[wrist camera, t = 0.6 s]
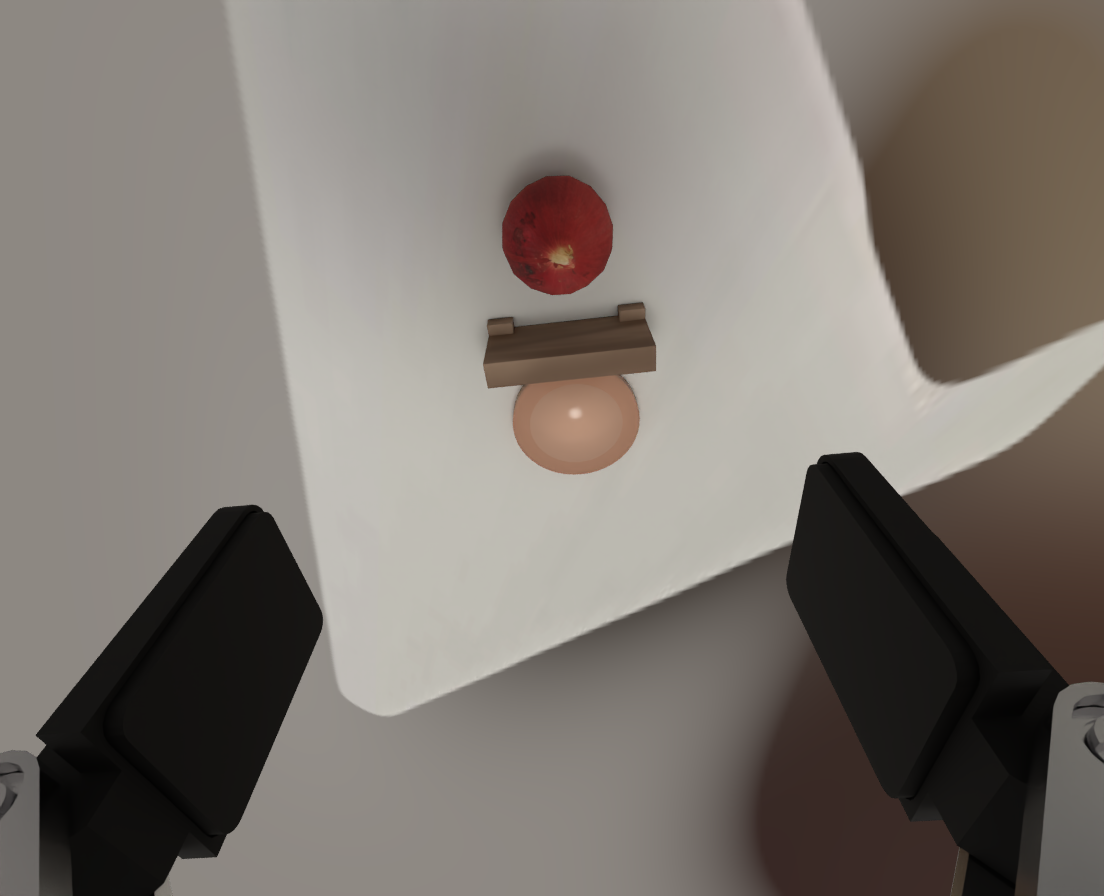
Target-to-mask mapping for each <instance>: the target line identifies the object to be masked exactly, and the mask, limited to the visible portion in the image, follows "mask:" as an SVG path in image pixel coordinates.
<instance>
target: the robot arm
mask: <svg viewBox="0 0 1104 896" xmlns="http://www.w3.org/2000/svg"><path fill="white" fill-rule="evenodd" d="M786 581H787V589H788V593H789V595H790V598H791V600H792V602H793V604H794V606H795V608H796V610H797V612H798V614H799V616H800V619H801V621H802V623H803V625H804V627H805V629H806V631H807V633H808V635H809V637H810V639H811V641H812V643H813V645H814V648H815V650H816V652H817V654H818V656H819V658H820V660H821V662H822V664H823V666H824V668H825V670H826V672H827V674H828V676H829V679H830V681H831V683H832V685H833V687H834V689H835V691H836V693H837V695H838V697H839V699H840V701H841V703H842V706H843V708H844V709H845V712H846V714H847V716H848V718H849V720H850V722H851V724H852V726H853V728H854V730H855V732H856V735H857V737H858V738H859V741H860V743H861V745H862V747H863V749H864V751H865V753H866V755H867V757H868V759H869V761H870V763H871V765H872V767H873V770H874V772H875V774H876V776H877V778H878V780H879V782H880V784H881V786H882V787H883V789H884V791H885V792H886V793H887V794H888V795H889V796H890V797H891V798H899V800H900V802H901V804H902V806H903V808H904V810H905V812H906V814H907V816H908V818H909V820H910V821H930V820H944V822H945V824H946V826H947V828H948V830H949V831H950V833H951V835H952V837H953V839H954V841H955V842H956V844H957V846H959V847H960V848H959V853H958V859H957V864H956V869H955V875H954V881H953V886H952V891H951V896H1104V683H1097V682H1085V683H1078V684H1072V685H1070V686H1069V685H1068V684H1067V683H1066V681H1065V680H1064V679H1063V678H1062V677H1061V676H1060V674H1059V673H1058V672H1057V671H1056V670H1055V669H1054V668H1053V667H1052V666H1051V664H1050V663H1049V662H1048V661H1047V660H1046V659H1045V658H1044V656H1043V655H1042V654H1041V653H1040V652H1039V651H1038V650H1037V649H1036V648H1035V646H1034V645H1033V644H1032V643H1031V642H1030V641H1029V639H1028V638H1027V637H1026V636H1025V635H1024V634H1023V633H1022V632H1021V630H1020V629H1019V628H1018V627H1017V626H1016V625H1015V624H1014V623H1013V622H1012V620H1011V619H1010V618H1009V617H1008V616H1007V615H1006V613H1005V612H1004V611H1003V610H1002V609H1001V608H1000V607H999V606H998V605H997V603H996V602H995V601H994V600H993V599H992V598H991V597H990V595H989V594H988V593H987V592H986V591H985V590H984V589H983V588H982V586H981V585H980V584H979V583H978V582H977V581H976V580H975V578H974V577H973V576H972V575H971V574H970V573H969V572H968V571H967V569H966V568H965V567H964V566H963V565H962V564H961V563H960V562H959V560H958V559H957V558H956V557H955V556H954V555H953V554H952V553H951V551H950V550H949V549H948V548H947V547H946V546H945V545H944V543H943V542H942V541H941V540H940V539H939V538H938V537H937V536H936V535H935V534H934V533H933V532H932V531H931V530H930V529H929V528H928V527H927V526H926V525H925V523H924V522H923V521H922V520H921V519H920V518H919V517H918V515H917V514H916V513H915V512H914V511H913V510H912V509H911V508H910V506H909V505H908V504H907V503H906V502H905V501H904V500H903V499H902V497H901V496H900V495H899V494H898V493H897V492H896V491H895V489H894V488H893V487H892V486H891V485H890V484H889V483H888V481H887V480H886V479H885V478H884V477H883V476H882V475H881V474H880V472H879V471H878V470H877V469H876V468H875V467H874V466H873V464H872V463H871V462H870V461H869V460H868V459H867V458H866V457H865V456H864V455H863V454H862V453H859V452H852V453H840V454H829V455H823V456H821V457H820V458H819V460H818V462H817V464H813V465H810V466H809V468H808V470H807V474H806V479H805V484H804V489H803V494H802V499H801V504H800V509H799V514H798V520H797V525H796V530H795V535H794V540H793V545H792V550H791V555H790V560H789V566H788V571H787V578H786ZM322 625H323V616H322V612H321V610H320V607H319V605H318V603H317V602H316V600H315V598H314V596H313V594H312V592H311V590H310V588H309V586H308V584H307V582H306V580H305V578H304V576H303V574H302V572H301V571H300V569H299V567H298V565H297V563H296V561H295V559H294V557H293V555H292V553H291V551H290V549H289V547H288V545H287V543H286V541H285V539H284V537H283V536H282V534H281V532H280V530H279V528H278V526H277V524H276V522H275V520H274V518H273V517H272V515H271V514H269V513H268V512H264V511H263V510H262V509H261V508H260V507H259V506H257V505H246V506H233V507H224V508H220V509H218V510H217V511H216V512H215V513H214V514H213V515H212V516H211V518H210V519H209V520H208V521H207V523H206V524H205V525H204V526H203V528H202V529H201V530H200V531H199V533H198V534H197V535H196V536H195V538H194V539H193V540H192V541H191V543H190V544H189V545H188V546H187V548H186V549H185V550H184V551H183V552H182V554H181V555H180V556H179V558H178V559H177V560H176V561H175V563H174V564H173V565H172V566H171V567H170V569H169V570H168V571H167V573H166V574H165V575H164V576H163V577H162V579H161V580H160V581H159V582H158V584H157V585H156V586H155V587H154V589H153V590H152V591H151V592H150V594H149V595H148V596H147V597H146V598H145V600H144V601H143V602H142V604H141V605H140V606H139V608H137V610H136V611H135V612H134V613H133V615H132V616H131V617H130V618H129V620H128V621H127V622H126V623H125V625H124V626H123V627H122V628H121V630H120V631H119V632H118V633H117V635H116V636H115V637H114V638H113V640H112V641H111V642H110V643H109V645H108V646H107V647H106V648H105V649H104V651H103V652H102V654H101V655H100V656H99V657H98V658H97V659H96V661H95V662H94V663H93V664H92V666H91V667H90V668H89V669H88V671H87V672H86V673H85V674H84V676H83V677H82V678H81V679H80V681H79V682H78V683H77V684H76V686H75V687H74V688H73V689H72V690H71V692H70V693H69V694H68V695H67V697H66V698H65V699H64V701H63V702H62V703H61V704H60V705H59V707H58V708H57V709H56V710H55V712H54V713H53V714H52V715H51V717H50V718H49V719H48V720H47V722H46V723H45V724H44V725H43V727H42V728H41V729H40V730H39V732H38V733H37V734H36V736H37V737H38V738H39V739H40V740H42V741H43V742H44V743H45V744H46V746H45V748H44V749H43V750H42V751H41V753H40V754H39V755H38V757H35V756H34V755H32V754H31V753H29V752H27V751H15V750H11V751H7V752H3V753H0V896H173V895H172V890H171V884H170V879H169V872H170V870H171V868H172V866H173V864H174V862H175V860H176V858H177V856H179V857H181V858H182V859H187V858H188V859H189V858H208V857H217V856H218V853H219V851H220V849H221V846H222V844H223V842H224V840H225V837H226V835H227V834H228V833H230V832H232V831H233V830H234V829H235V828H236V827H237V825H238V824H239V822H240V820H241V818H242V816H243V813H244V811H245V809H246V806H247V804H248V802H249V800H250V797H251V795H252V792H253V790H254V788H255V785H256V783H257V781H258V778H259V776H260V774H261V771H262V769H263V766H264V764H265V762H266V760H267V757H268V755H269V752H270V750H271V748H272V745H273V743H274V741H275V738H276V736H277V734H278V731H279V729H280V727H281V724H282V722H283V720H284V717H285V715H286V713H287V710H288V708H289V706H290V703H291V701H292V698H293V696H294V694H295V691H296V689H297V687H298V684H299V682H300V680H301V677H302V675H303V673H304V670H305V668H306V666H307V663H308V661H309V659H310V656H311V654H312V652H313V649H314V647H315V645H316V642H317V640H318V638H319V635H320V633H321V630H322Z"/></svg>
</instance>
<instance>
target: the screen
mask: <svg viewBox="0 0 1104 896" xmlns="http://www.w3.org/2000/svg"><path fill="white" fill-rule="evenodd" d="M487 329H488V334H489V338H488V343H487V348H486V353H485V358H484V362H483V366H484V371H485V376H486V381H487V386H488V388H496V387H506V386H516V385H525V384H535V383H545V382H554V381H564V380H573V379H583V378H593V377H602V376H612V375H622V374H631V373H641V372H650V371H656V345H655V342H654V340H653V337H652V335H651V332H650V330H649V327H648V325H647V322H646V320H645V307H644V304H643V303H635V304H626V305H618V316H612V317H603V318H593V319H584V320H575V321H566V322H557V323H548V324H539V325H530V326H521V327H514V322H513V317H509V318H500V319H491V320H488V323H487Z"/></svg>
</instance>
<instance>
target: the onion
mask: <svg viewBox="0 0 1104 896" xmlns="http://www.w3.org/2000/svg"><path fill="white" fill-rule="evenodd" d="M612 240H613V224H612V221H611V219H610V216H609V213H608V210H607V207H606V204H605V203H604V202H603V201H602V199H601V198H600V197H599V196H598V195H597V193H596V192H595V191H594V190H593V189H592V187H591V186H589V185H587V184H585V183H583V182H581V181H579V180H577V179H575V178H573V177H571V176H546V177H544V178H542V179H540V180H538V181H536V182H534V183H532V184H529V185H527V186H526V187H525V188H524V189H523V190H522V191H521V192H520V193H519V194H518V195H517V196H516V197H515V198H514V199H513V200H512V201H511V203H510V205H509V208H508V210H507V213H506V216H505V218H504V221H503V223H502V248H503V251H504V254H505V256H506V258H507V260H508V262H509V265H510V267H511V269H512V271H513V273H514V275H516V276H517V277H518V278H519V279H520V280H522V281H523V282H524V283H525V284H526V285H528V286H529V287H530V288H532V289H535V290H538V291H541V292H544V293H547V294H550V295H561V294H571V293H573V292H575V291H577V290H580V289H582V288H584V287H586V286H588V285H589V284H590V283H591V282H592V281H593V280H594V279H595V278H596V277H597V276H598V275H599V274H600V273H602V272H603V271H604V269H605V266H606V264H607V261H608V259H609V256H610V254H611V251H612Z"/></svg>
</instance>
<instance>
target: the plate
mask: <svg viewBox="0 0 1104 896" xmlns="http://www.w3.org/2000/svg"><path fill="white" fill-rule="evenodd" d="M639 419H640V418H639V410H638V406H637V403H636V399H635V396H634V393H633V391H632V389H631V387H630V386H629V384H628V383H627V382H626V381H625V379H624V378H623V377H622V376H621V375H612V376H602V377H593V378H583V379H573V380H564V381H554V382H545V383H535V384H525V385H524V386H523V387H522V389H521V390H520V392H519V394H518V396H517V399H516V402H515V407H514V416H513V428H514V434H515V438H516V440H517V442H518V444H519V446H520V448H521V449H522V451H523V452H524V453H525V454H526V455H527V456H528V457H529V458H530V459H531V460H532V461H534V462H535V463H536V464H538V465H540V466H542V467H543V468H546V469H548V470H551V471H554V472H558V473H563V474H585V473H591V472H595V471H598V470H601V469H603V468H605V467H607V466H609V465H611V464H613V463H614V462H616V461H617V460H618V459H620V458H621V457H622V456H623V455H624V454H625V453H626V452H627V451H628V450H629V448H630V447H631V446H632V444H633V442H634V440H635V438H636V435H637V433H638V428H639Z"/></svg>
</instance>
